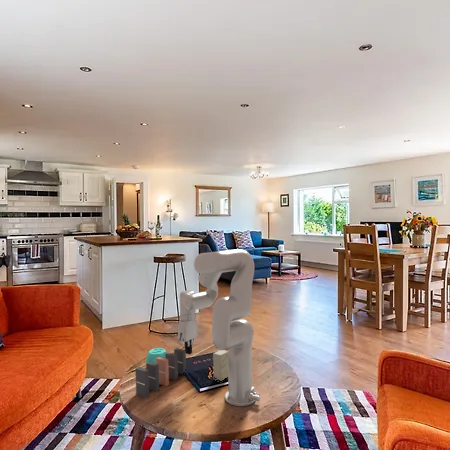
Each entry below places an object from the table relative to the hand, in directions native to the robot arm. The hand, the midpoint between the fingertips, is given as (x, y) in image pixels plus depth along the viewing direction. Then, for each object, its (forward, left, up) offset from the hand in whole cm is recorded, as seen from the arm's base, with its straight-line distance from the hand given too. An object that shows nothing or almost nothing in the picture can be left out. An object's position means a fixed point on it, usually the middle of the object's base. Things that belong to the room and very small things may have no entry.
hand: (188, 353), depth 168 cm
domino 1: (0, +31, -7) cm, 31 cm away
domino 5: (0, +7, -7) cm, 10 cm away
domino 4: (0, +13, -7) cm, 14 cm away
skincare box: (-20, +2, -7) cm, 21 cm away
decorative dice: (+14, +8, -7) cm, 17 cm away
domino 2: (0, +25, -7) cm, 26 cm away
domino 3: (0, +19, -7) cm, 20 cm away
